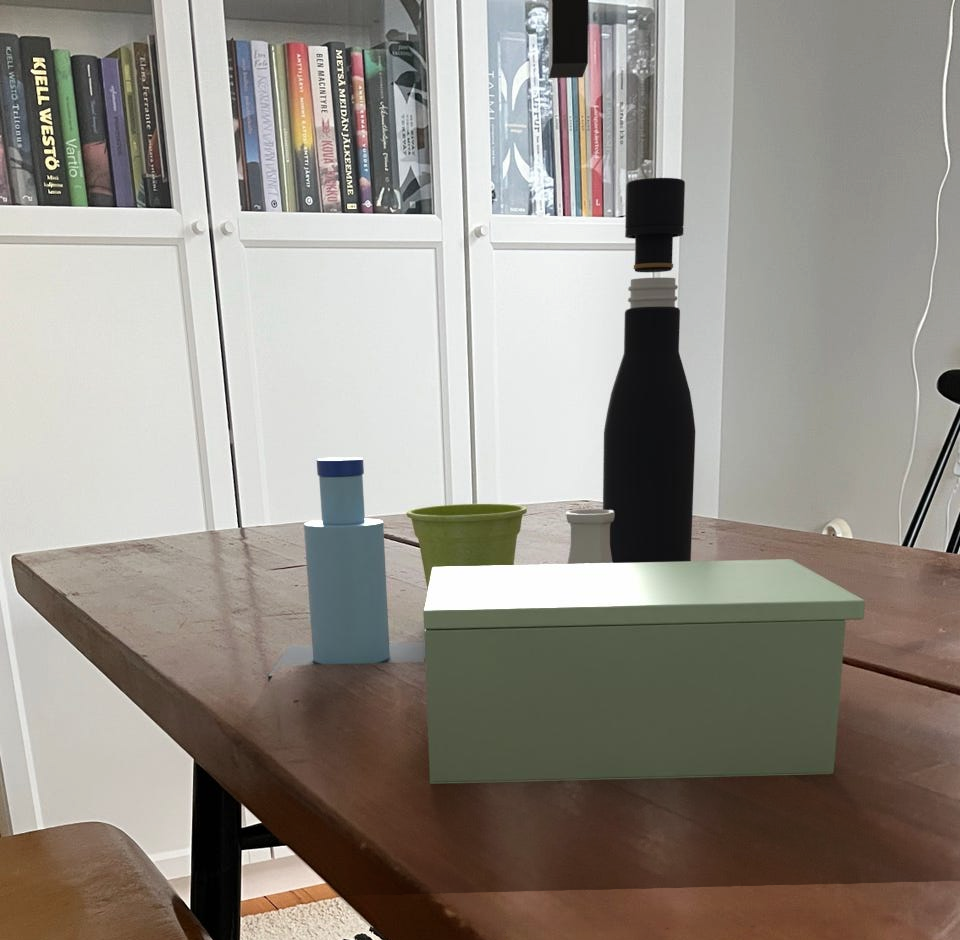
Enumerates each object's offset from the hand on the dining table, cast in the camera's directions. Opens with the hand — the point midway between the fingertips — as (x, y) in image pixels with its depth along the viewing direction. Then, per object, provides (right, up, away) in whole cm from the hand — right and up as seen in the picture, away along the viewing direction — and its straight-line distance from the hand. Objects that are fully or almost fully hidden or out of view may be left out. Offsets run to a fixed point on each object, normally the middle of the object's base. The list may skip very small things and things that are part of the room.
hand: (567, 70), depth 54 cm
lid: (+3, -21, +8) cm, 23 cm away
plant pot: (-5, -15, +47) cm, 50 cm away
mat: (-12, -21, +32) cm, 40 cm away
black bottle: (+8, -17, +40) cm, 44 cm away
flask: (+4, -21, +30) cm, 37 cm away
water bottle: (-13, -20, +32) cm, 40 cm away
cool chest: (+3, -28, +11) cm, 31 cm away
